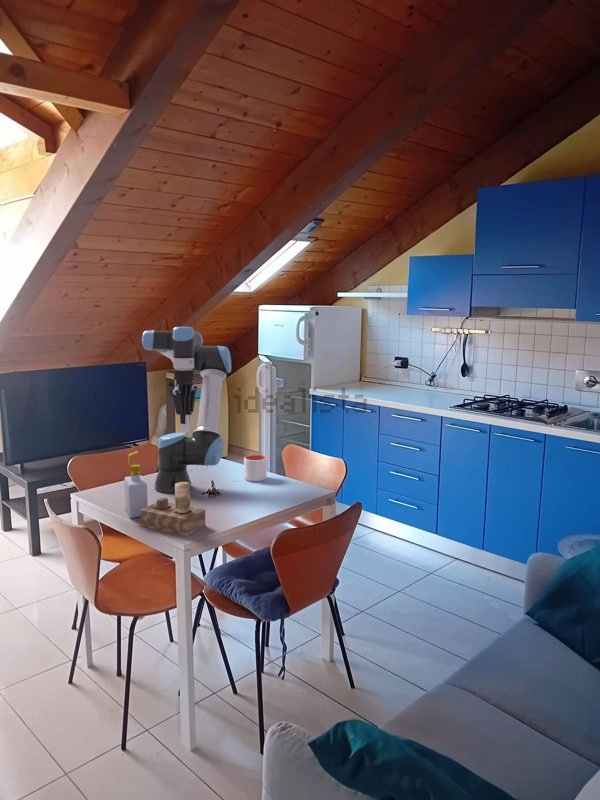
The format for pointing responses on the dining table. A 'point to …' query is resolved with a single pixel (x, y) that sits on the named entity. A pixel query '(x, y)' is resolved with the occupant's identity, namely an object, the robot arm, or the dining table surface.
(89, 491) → the dining table surface
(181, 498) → the leg
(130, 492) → the soap bottle
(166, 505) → the block
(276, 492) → the dining table surface
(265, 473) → the cup
